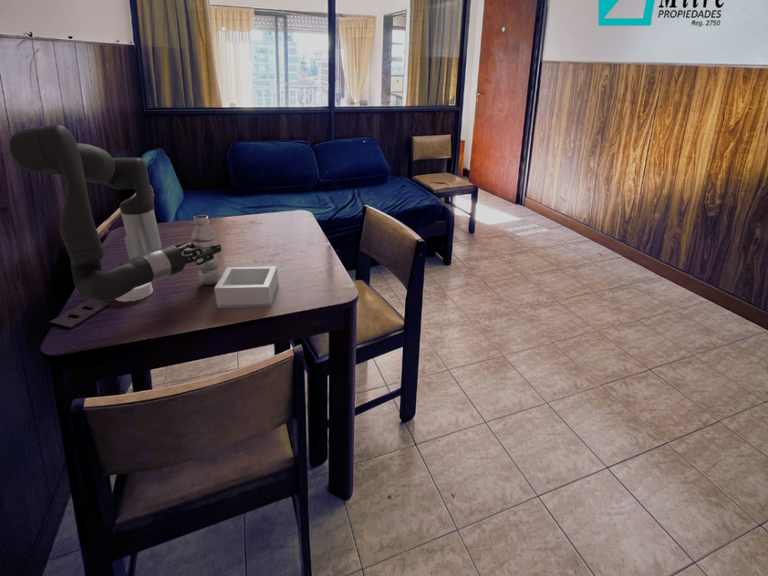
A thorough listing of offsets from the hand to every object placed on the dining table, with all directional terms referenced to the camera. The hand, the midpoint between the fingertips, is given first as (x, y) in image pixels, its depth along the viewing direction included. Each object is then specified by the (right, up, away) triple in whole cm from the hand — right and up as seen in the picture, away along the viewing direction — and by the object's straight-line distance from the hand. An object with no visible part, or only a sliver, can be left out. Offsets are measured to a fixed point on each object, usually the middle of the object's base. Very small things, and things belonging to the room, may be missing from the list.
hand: (212, 245), depth 139 cm
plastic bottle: (-1, -11, +3) cm, 11 cm away
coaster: (-21, -14, -3) cm, 26 cm away
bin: (+12, -15, -5) cm, 20 cm away
